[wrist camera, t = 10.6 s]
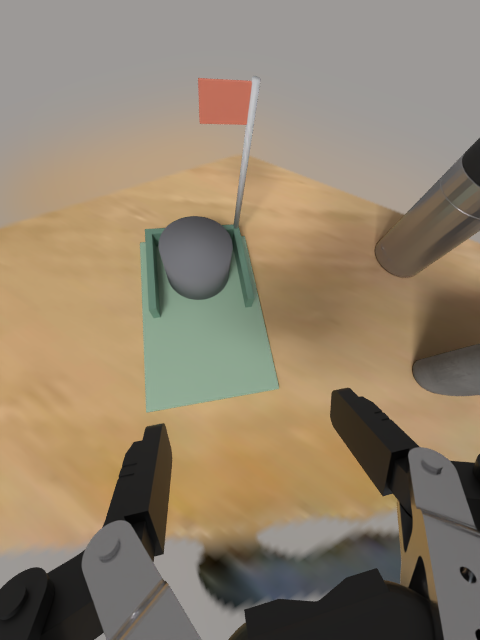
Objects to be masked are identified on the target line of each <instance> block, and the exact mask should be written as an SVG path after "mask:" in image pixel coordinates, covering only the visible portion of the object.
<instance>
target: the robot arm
mask: <svg viewBox="0 0 480 640" xmlns="http://www.w3.org/2000/svg"><path fill="white" fill-rule="evenodd" d="M479 231H480V138H479V139H478V140H477V141H476V142H475V143H474V144H473V145H472V146H471V147H470V148H469V149H468V150H467V151H466V152H465V154H463V156H462V157H461V158H459V160H458V161H457V162H456V163H455V164H454V165H453V166H452V167H451V168H450V169H449V170H448V171H447V172H446V173H445V174H444V175H443V176H442V177H441V178H440V179H439V180H438V181H437V182H436V183H435V184H434V185H433V186H432V188H431V189H429V190H428V192H427V193H426V194H425V195H424V196H423V197H422V198H421V199H420V200H419V201H418V202H417V203H416V204H415V205H414V206H413V207H412V208H411V209H410V210H409V211H408V212H407V213H406V214H405V215H404V216H403V217H402V218H401V219H400V220H399V221H398V222H397V223H396V224H395V226H394V227H393V228H392V229H391V230H390V231H389V232H388V233H387V234H386V235H385V236H384V237H383V238H382V239H381V240H380V241H379V242H378V243H377V245H376V248H375V254H376V257H377V260H378V261H379V263H380V264H381V265H382V267H383V268H384V269H386V270H387V271H388V272H390V273H391V274H394V275H396V276H399V277H412V276H414V275H416V274H417V273H419V272H420V271H422V270H423V269H425V268H426V267H427V266H429V265H430V264H432V263H433V262H435V261H436V260H438V259H439V258H441V257H442V256H444V255H445V254H447V253H448V252H450V251H451V250H452V249H454V248H455V247H457V246H458V245H460V244H461V243H463V242H464V241H466V240H467V239H469V238H470V237H471V236H473V235H474V234H476V233H477V232H479ZM330 418H331V422H332V425H333V427H334V428H335V430H336V431H337V433H338V434H339V436H340V437H341V438H342V440H343V441H344V443H345V444H346V445H347V447H348V448H349V450H350V451H351V452H352V454H353V455H354V457H355V458H356V459H357V461H358V462H359V464H360V465H361V466H362V468H363V469H364V471H365V472H366V473H367V475H368V476H369V478H370V479H371V480H372V482H373V483H374V485H375V486H376V487H377V489H378V490H379V492H380V493H381V495H382V496H386V495H389V494H394V495H395V497H396V498H397V499H398V501H397V513H398V524H399V536H400V548H401V575H400V584H397V583H394V582H390V581H385V580H383V578H382V576H381V575H380V573H379V571H378V569H377V568H376V569H373V570H369V571H366V572H363V573H360V574H357V575H353V576H350V577H347V578H345V579H344V580H343V581H342V582H341V583H340V584H338V585H337V586H336V587H335V588H334V589H332V590H331V591H330V592H329V593H328V594H327V595H325V596H324V597H323V598H322V599H321V600H319V601H315V602H313V601H300V600H286V599H277V600H274V601H271V602H268V603H264V604H261V605H258V606H255V607H252V608H248V609H245V610H244V611H245V619H246V623H244V624H243V625H242V626H241V627H239V628H238V630H236V631H235V633H234V634H233V635H232V636H231V637H230V638H229V640H480V454H479V455H478V456H477V459H476V462H475V463H470V462H458V461H449V460H448V459H447V458H446V457H444V456H443V455H441V454H440V453H438V452H436V451H434V450H431V449H428V448H422V447H419V446H418V445H417V444H416V443H415V442H414V441H413V440H412V439H411V438H410V437H409V436H408V435H407V434H406V433H405V432H404V431H403V430H401V429H400V428H399V427H398V426H397V425H396V424H395V423H394V422H393V421H392V420H390V419H389V417H388V416H387V415H386V414H385V413H383V412H382V410H381V409H379V408H378V407H377V406H376V405H375V404H374V403H373V402H371V401H369V400H368V399H366V398H364V397H358V396H357V395H356V394H355V393H354V392H353V391H352V390H351V389H350V388H344V389H339V390H334V391H333V392H332V396H331V411H330ZM171 469H172V451H171V446H170V442H169V438H168V434H167V430H166V426H165V424H164V423H163V424H158V425H152V426H147V427H146V429H145V432H144V436H143V440H142V441H137V442H134V443H133V444H132V446H131V447H130V448H129V450H128V451H127V453H126V454H125V458H124V461H123V464H122V469H121V471H120V474H119V479H118V481H117V484H116V487H115V490H114V494H113V497H112V500H111V503H110V507H109V510H108V513H107V516H106V520H105V523H104V525H103V527H102V529H100V530H99V531H98V532H97V533H96V534H95V535H94V537H93V538H92V539H91V541H90V542H89V544H88V545H87V547H86V549H85V550H84V551H83V552H81V553H80V554H79V555H77V556H76V557H74V558H72V559H71V560H69V561H67V562H66V563H64V564H62V565H61V566H59V567H57V568H55V569H54V570H52V571H50V572H49V573H46V572H45V571H44V570H43V569H42V568H37V567H36V568H30V569H27V570H25V571H23V572H21V573H19V574H18V575H16V576H15V577H13V578H12V579H11V580H9V581H8V582H7V583H6V584H5V585H4V586H3V587H2V588H1V589H0V640H94V639H96V638H97V637H98V636H100V635H101V634H102V633H104V634H105V636H106V640H201V638H200V636H199V635H198V633H197V631H196V630H195V628H194V626H193V625H192V623H191V621H190V620H189V618H188V617H187V615H186V613H185V611H184V609H183V608H182V606H181V604H180V603H179V601H178V599H177V598H176V596H175V594H174V593H173V591H172V589H171V588H170V586H169V585H168V583H167V582H166V581H164V580H163V578H162V577H161V575H160V573H159V572H158V570H157V568H156V567H155V565H154V563H153V562H154V556H158V555H162V554H164V544H165V533H166V522H167V512H168V501H169V490H170V480H171Z"/></svg>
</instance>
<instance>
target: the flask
mask: <svg viewBox="0 0 480 640" xmlns="http://www.w3.org/2000/svg"><path fill="white" fill-rule="evenodd" d="M413 375H414V377H415V379H416V381H417V383H418V384H419V385H420V386H421V387H422V388H424V389H426V390H427V391H430V392H433V393H436V394H441V395H449V396H472V395H480V344H476V345H473V346H469V347H465V348H461V349H458V350H454V351H450V352H446V353H443V354H439V355H435V356H431V357H428V358H424V359H420V360H417V361H416V362H415V363H414V366H413Z"/></svg>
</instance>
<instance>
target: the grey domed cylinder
mask: <svg viewBox="0 0 480 640" xmlns="http://www.w3.org/2000/svg"><path fill="white" fill-rule="evenodd" d="M232 248H233V245H232V240H231V237H230V235H229V233H228V232H227V230H226V229H225V228H224V227H223V226H222V225H220V224H219V223H217V222H216V221H214V220H211V219H208V218H205V217H198V216H191V217H184V218H181V219H178V220H176V221H174V222H172V223H171V224H169V225H168V226H167V227H166V228H165V229H164V231H163V232H162V234H161V236H160V239H159V252H160V255H161V258H162V262H163V265H164V268H165V271H166V275H167V278H168V281H169V283H170V285H171V287H172V288H173V289H174V290H175V291H176V292H177V293H178V294H180V295H181V296H183V297H186V298H189V299H193V300H203V299H208V298H211V297H213V296H215V295H217V294H218V293H220V292H221V291H222V290H223V289H224V287H225V286H226V284H227V282H228V278H229V271H230V264H231V256H232Z"/></svg>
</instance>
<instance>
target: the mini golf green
mask: <svg viewBox="0 0 480 640" xmlns="http://www.w3.org/2000/svg"><path fill="white" fill-rule="evenodd" d="M259 86H260V78H259V77H257V76H254V77H252V81H242V80H223V79H205V78H198V88H199V117H200V124H241V125H246V131H245V139H244V147H243V155H242V163H241V170H240V178H239V186H238V194H237V202H236V210H235V218H234V225H222V226H223V227H224V228H225V229H226V230H227V232H228V233H229V235H230V237H231V240H232V245H233V248H232V256H231V264H230V271H229V278H228V282H227V284H226V286H225V287H224V289H223V290H222V291H221V292H220V293H218V294H217V295H215V296H213V297H211V298H208V299H203V300H193V299H189V298H186V297H183V296H181V295H180V294H178V293H177V292H176V291H175V290H174V289H173V288H172V287H171V285H170V283H169V281H168V278H167V275H166V271H165V268H164V265H163V262H162V258H161V255H160V252H159V239H160V236H161V234H162V232H163V231H164V229H165V228H158V229H145V241H146V242H141V243H140V254H141V281H142V309H143V336H144V363H145V390H146V412H153V411H158V410H164V409H169V408H175V407H180V406H186V405H192V404H197V403H203V402H208V401H214V400H219V399H225V398H231V397H236V396H242V395H247V394H253V393H258V392H264V391H270V390H275V389H279V385H278V381H277V376H276V372H275V367H274V363H273V359H272V354H271V350H270V346H269V341H268V337H267V332H266V328H265V324H264V319H263V315H262V310H261V306H260V302H259V297H258V293H257V288H256V284H255V280H254V275H253V271H252V266H251V262H250V258H249V253H248V249H247V245H246V240H245V236H241V234H240V230H239V219H240V212H241V206H242V199H243V192H244V186H245V179H246V172H247V166H248V159H249V152H250V145H251V139H252V133H253V126H254V119H255V113H256V106H257V99H258V93H259Z"/></svg>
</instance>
